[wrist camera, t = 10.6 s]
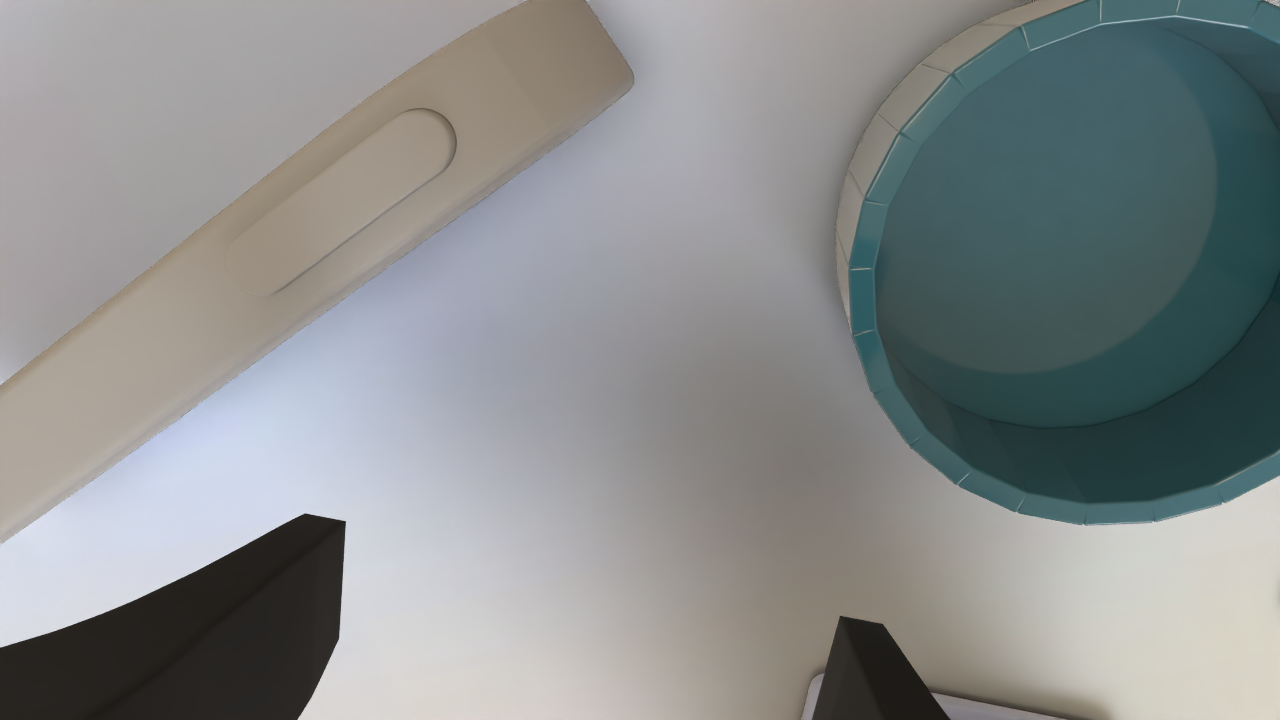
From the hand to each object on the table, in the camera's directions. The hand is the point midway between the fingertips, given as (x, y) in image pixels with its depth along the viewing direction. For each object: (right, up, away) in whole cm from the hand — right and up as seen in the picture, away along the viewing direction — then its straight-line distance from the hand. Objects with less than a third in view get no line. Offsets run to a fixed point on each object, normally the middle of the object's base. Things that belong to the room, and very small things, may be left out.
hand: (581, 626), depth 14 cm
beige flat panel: (-7, +6, +10) cm, 14 cm away
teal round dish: (+10, +7, +8) cm, 14 cm away
